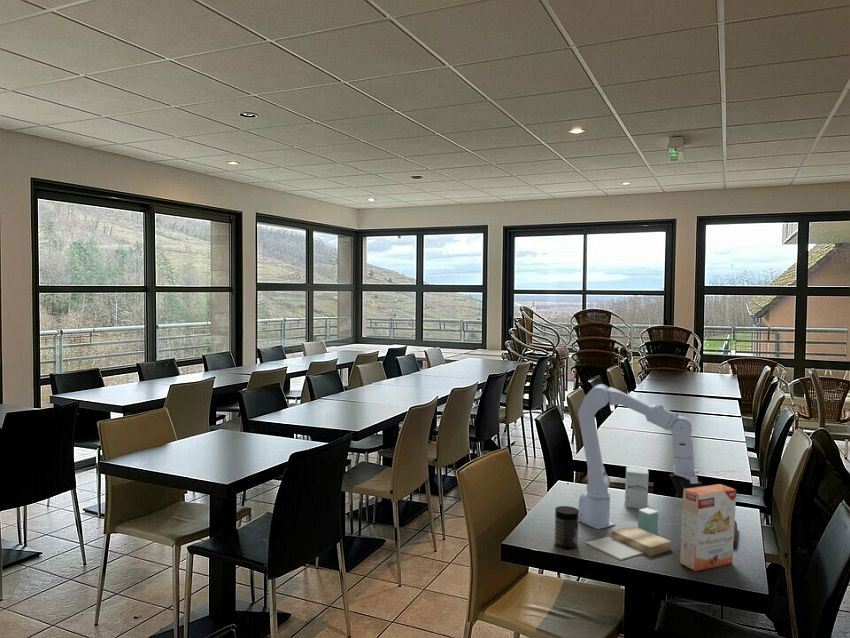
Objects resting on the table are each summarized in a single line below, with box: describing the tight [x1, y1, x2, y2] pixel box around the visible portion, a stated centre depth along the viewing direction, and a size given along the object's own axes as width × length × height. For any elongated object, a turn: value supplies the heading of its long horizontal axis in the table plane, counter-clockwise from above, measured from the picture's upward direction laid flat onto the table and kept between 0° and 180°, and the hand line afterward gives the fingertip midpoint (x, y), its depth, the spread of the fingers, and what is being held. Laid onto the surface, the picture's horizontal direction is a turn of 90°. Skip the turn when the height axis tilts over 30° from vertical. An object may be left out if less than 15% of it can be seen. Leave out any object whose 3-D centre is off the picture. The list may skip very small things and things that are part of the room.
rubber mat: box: [585, 536, 644, 561], centre depth 180 cm, size 13×9×1 cm
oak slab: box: [611, 525, 672, 557], centre depth 184 cm, size 14×9×2 cm, turn 31°
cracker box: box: [679, 483, 737, 572], centre depth 171 cm, size 14×6×21 cm, turn 114°
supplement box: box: [624, 466, 649, 510], centre depth 217 cm, size 7×7×13 cm
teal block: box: [637, 507, 659, 535], centre depth 193 cm, size 4×4×7 cm
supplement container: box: [554, 505, 580, 550], centre depth 182 cm, size 7×7×10 cm
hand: (686, 501), depth 190 cm, fingers open, 7 cm apart
